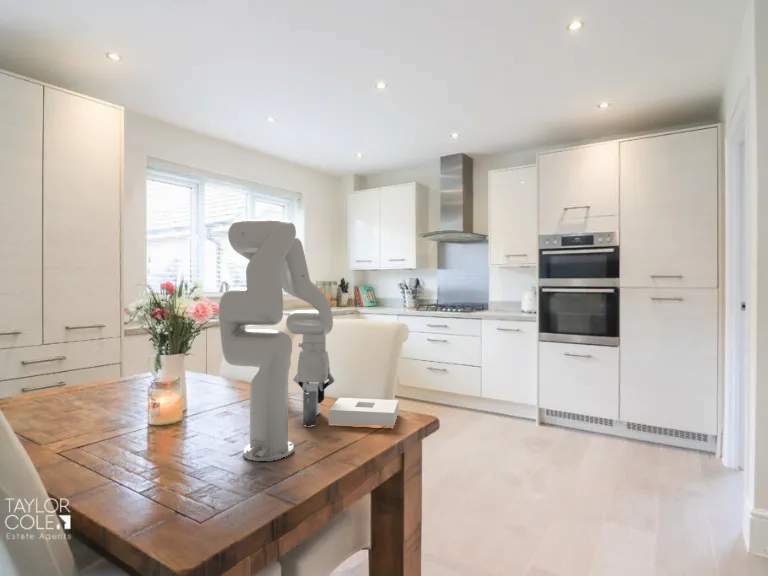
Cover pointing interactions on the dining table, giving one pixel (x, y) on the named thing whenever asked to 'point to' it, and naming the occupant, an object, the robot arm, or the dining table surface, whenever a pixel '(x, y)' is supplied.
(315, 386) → the square peg
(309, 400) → the round peg
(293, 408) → the dining table surface
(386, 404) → the block
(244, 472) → the dining table surface
